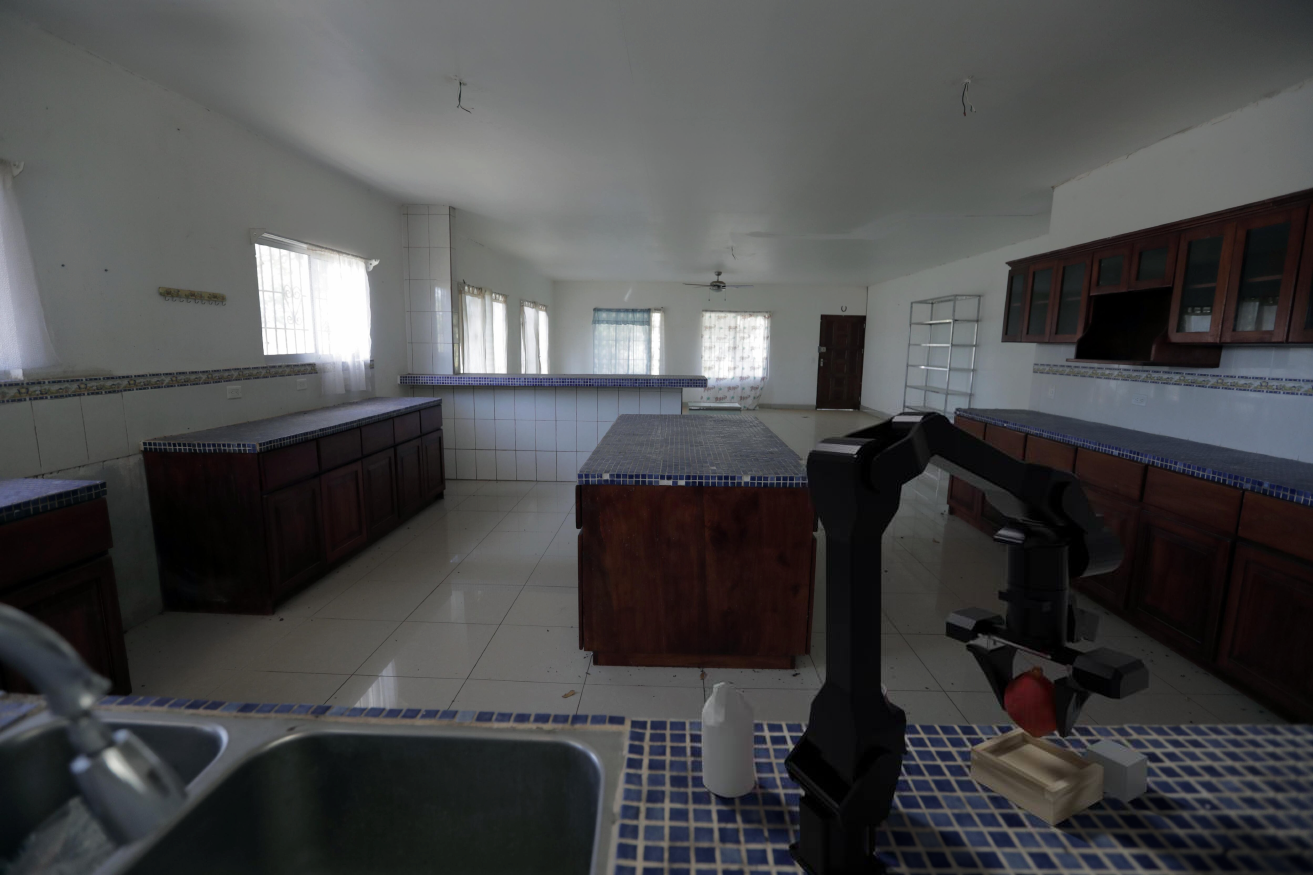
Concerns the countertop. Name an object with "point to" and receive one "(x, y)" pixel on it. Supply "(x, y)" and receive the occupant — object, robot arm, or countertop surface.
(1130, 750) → the grey cube
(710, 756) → the white plastic bottle
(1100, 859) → the countertop surface
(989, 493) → the robot arm
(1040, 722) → the red pomegranate
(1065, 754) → the square tray
